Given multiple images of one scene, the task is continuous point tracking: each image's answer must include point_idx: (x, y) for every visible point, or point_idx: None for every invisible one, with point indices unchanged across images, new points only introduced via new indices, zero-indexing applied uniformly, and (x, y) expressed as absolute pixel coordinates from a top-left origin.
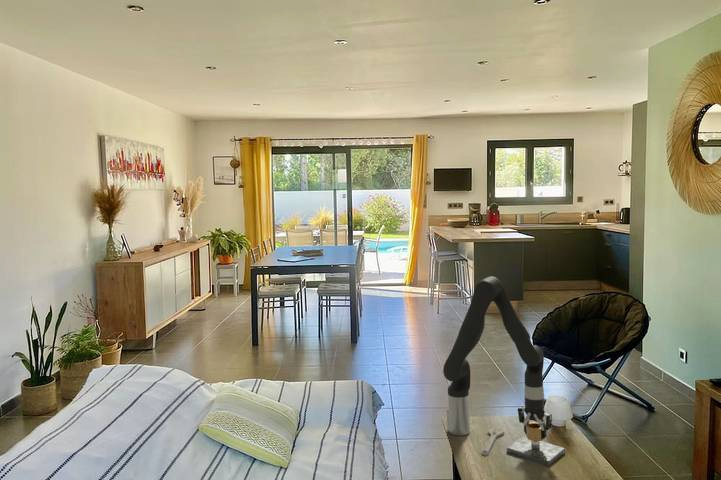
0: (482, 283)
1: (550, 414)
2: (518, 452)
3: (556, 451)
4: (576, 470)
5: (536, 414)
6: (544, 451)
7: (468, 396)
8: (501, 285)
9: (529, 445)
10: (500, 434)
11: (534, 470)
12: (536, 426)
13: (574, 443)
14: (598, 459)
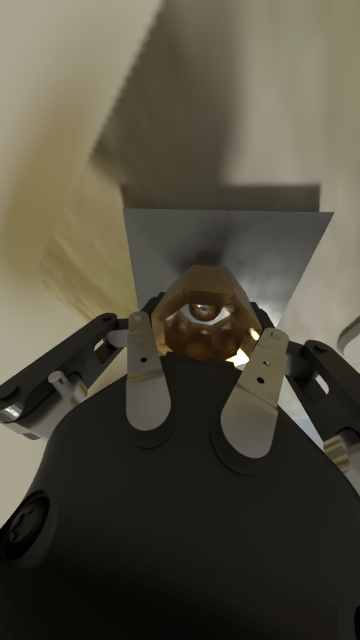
0: None
1: (21, 433)
2: (261, 211)
3: (145, 297)
4: (71, 242)
5: (129, 423)
6: (171, 276)
7: None
8: None
9: None
10: (357, 331)
11: (149, 108)
12: (206, 351)
13: None
14: (87, 322)
